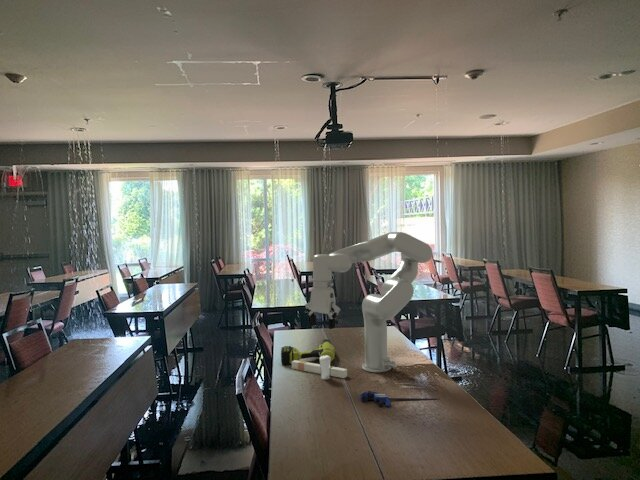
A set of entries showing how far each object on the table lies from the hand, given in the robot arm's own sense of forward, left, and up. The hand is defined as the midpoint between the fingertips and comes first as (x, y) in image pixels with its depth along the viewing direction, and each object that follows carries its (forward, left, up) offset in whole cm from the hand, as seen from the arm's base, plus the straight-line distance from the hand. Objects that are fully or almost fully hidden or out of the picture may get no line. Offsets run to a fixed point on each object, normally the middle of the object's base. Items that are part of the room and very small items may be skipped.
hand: (322, 326), depth 179 cm
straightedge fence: (+4, -3, -20) cm, 21 cm away
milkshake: (-2, +2, -21) cm, 21 cm away
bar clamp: (-39, +8, -21) cm, 45 cm away
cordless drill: (+20, -19, -21) cm, 35 cm away
